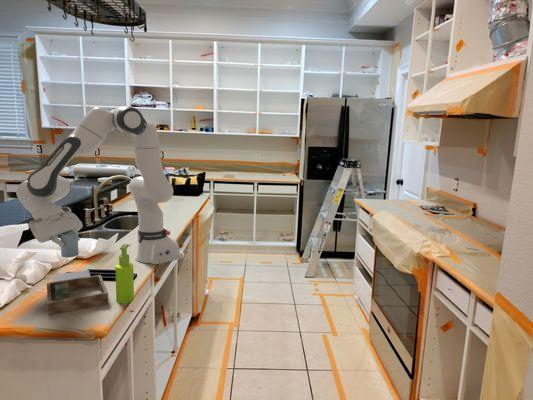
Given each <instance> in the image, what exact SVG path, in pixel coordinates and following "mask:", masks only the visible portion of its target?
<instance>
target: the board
mask: <svg viewBox="0 0 533 400" xmlns="http://www.w3.org/2000/svg"><path fill="white" fill-rule="evenodd" d="M90 276H91V273H90V271H89V269H86V270H78V271H72V272H65V273H58V274H52V282H56V281H63V280H70V279H76V278H83V277H90Z"/></svg>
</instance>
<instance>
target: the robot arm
mask: <svg viewBox="0 0 533 400" xmlns="http://www.w3.org/2000/svg"><path fill="white" fill-rule="evenodd" d="M112 131H116V132H120V133H124V134H125V133H126V134H128V133H129V134H130V135H131V137H132V141H133V149H134V159H135V160H134V161H135V166H136V168H138V170H139V172H140V174H141V175H139V176H136V177H133V178H132V179H131V180H130V182H129V185H128V190H129V193H130V194H131V196H133V199H134V202H135V205H136V206H135V207H136V208H137V216H138V230H137V242H138V244H137V245H138V246H137V251H136V257H135V260H136V261H137V262H140V263H143V264H144V263H145V264H146V263H147V264H153V265H159V264H163V263H168V262H172V261H176V260H182V259H185V252H183V251H182V250H180V245H179V244H178V242H177V241H175V240H174V239H172V238H171V237H170V235H171V231H169V230H167V229H165V228H164V212H163V210H162V209H161V208H160V205H159V203H160V204H162V203H167V202H169V201H170V200H171V199H172V197H173V195H174V187H173V185H172V184H171V182H169V180H168V178H167V177H166V174H165V171H164V167H163V164H162V157H161V156H162V155H161V146H160V138H159V133H158V130H157V127H156V126H155V124H153V123H151V122H148V121H147V120H146V119H145V117H144V116H143V114H142V113H141V111H140V110H139V109H137V108H135V107H134V106H126V105H122V106H119V107H115V108H112V109H109V110H107V109H105V108H102V107H99V106H98V107H97V106H96V107H93V108H91V109H90V110H89V111H88V112H87V113H86V114H85V115H84V116H83V118H81V120H80V121H79V123H78V124H77V125H76V127H75V129H74V130H73V131H72V132H71V133H70V134H69V135H68V136H67V137H66V138H65V139H64V140H63V141H61V143H60V144H59V145H57V147H56V148H55V149H54V150H53V152H52V153H51V154H50V155H49V157H47V159H46V160H45V161H44V162H43V164H41V165H40V166H39V167H38V168H36V169H35V170H33V171H32V172H30V173H29V175H28V176H27V178H26V180H24V181H22V182H21V183H20V184H19V185H18V186H17V188H16V189H15V193H16V197H17V198H18V200H19V202H20V203H21V204H22V206H23V207H24V208H25V209H26V210H27V211H28V212H29V213H30V214H31V216H32V218H33V219H34V220H29V222H28V224H27V226H28V228H29V229H30V231H31V233H32V235H33V236H34V239H36V240H37V242H39V243H41V244H42V243H46V242H48V241H51V242H52V243H53V244H54V243H55V245H58V247H60V248H61V247H64V246H65V245H66V243H65V242H64V241H61V238H60V234H62V233H65V232H68V231H77V232H79V231H80V230H81V229H82V228H83V227H84V226H83V222H82V221H81V220H80V219H79V217H78V216H77V215H76V214H75V213H73V212H72V209H71V208H70V207H66V206H59V205H56V202H58V201H60V200H63V199H64V198H65V197H67V196H68V195H69V193H70V192H71V183H70V182H69V179H67V178H66V177H63V176H61V175H60V174H61V172H63V170H64V169H65V168H66V167H67V165H68V164H69V163H70V162H71V160H72V159H74V158H76V157H77V156H81V155H88V154H92V153H94V152H96V151H97V150H98V148H100V147H101V145H102V144H103V142H104V141H105V139H106V138H107V136H108V134H110V133H111V132H112ZM59 238H60V239H59ZM80 240H81V238H80V236H78V242H80Z"/></svg>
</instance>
